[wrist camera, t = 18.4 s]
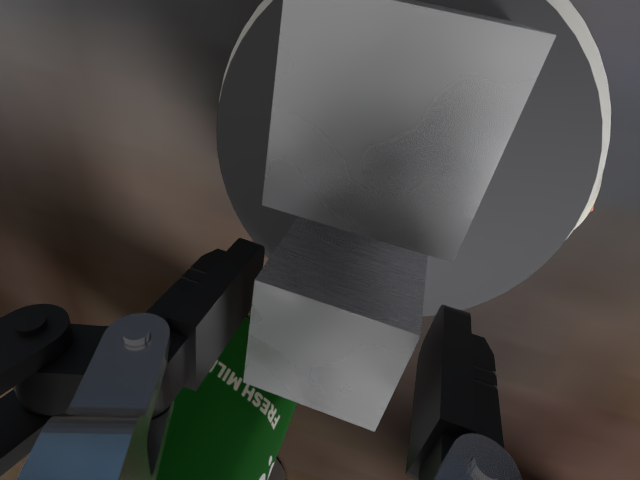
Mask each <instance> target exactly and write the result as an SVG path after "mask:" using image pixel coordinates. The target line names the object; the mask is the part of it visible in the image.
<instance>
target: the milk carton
mask: <svg viewBox="0 0 640 480" xmlns="http://www.w3.org/2000/svg"><path fill="white" fill-rule="evenodd" d="M249 326H250V319H249V318H248V317H247V316H246V317H245V318H244V320H243V321H242V323H241V324H240V326H239V327H238V329H237V330H236V332H235V333H234V335H233V336H232V338H231V339H230V341H229V342H228V344H227V345H226V347H225V349H224V350H223V352H222V353H221V355H220V356H219V358H218V359H217V361H216V362H215V364H214V365H213V367H212V368H211V370H210V371H209V373H208V374H207V376H206V377H205V379H204V380H203V382H202V383H201V385H200V386H199V388H198V389H197V391H194V390H191V389H189V388H186V387H184V386H183V388H182V389H181V390H180V392H179V393H178V395H177V396H176V398H175V399H174V407H173V411H172V416H171V420H170V424H169V428H168V432H167V437H166V441H165V445H164V449H163V453H162V458H161V462H160V466H159V470H158V474H157V479H156V480H268V478H269V475H270V473H271V470H272V468H273V465H274V462H275V460H276V457H277V455H278V452H279V450H280V447H281V445H282V442H283V440H284V437H285V434H286V432H287V429H288V426H289V423H290V421H291V418H292V415H293V413H294V410H295V407H296V404H297V402H294V401H291V400H289V399H286V398H283V397H281V396H278V395H276V394H273V393H270V392H268V391H265V390H262V389H260V388H257V387H254V386H252V385H249V384H246V383H244V382H243V380H244V371H245V362H246V353H247V344H248V335H249Z"/></svg>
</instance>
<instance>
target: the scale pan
mask: <svg viewBox="0 0 640 480" xmlns="http://www.w3.org/2000/svg"><path fill="white" fill-rule="evenodd" d="M415 1H420V2H425V3H429V4H434V5H439V6H444V7H448V8H453V9H458V10H462V11H467V12H472V13H477V14H481V15H486V16H491V17H495V18H500V19H505V20H510V21H513V22H516V23H520V24H523V25H526V26H529V27H532V28H535V29H538V30H542V31H545V32H548V33H551V34H554V35H556V38H555V40H554V42H553V44H552V46H551V49H550V51H549V53H548V55H547V57H546V60H545V62H544V64H543V66H542V68H541V71H540V73H539V75H538V77H537V79H536V82H535V84H534V86H533V88H532V90H531V92H530V95H529V97H528V99H527V101H526V103H525V106H524V108H523V110H522V112H521V114H520V117H519V119H518V121H517V123H516V125H515V128H514V130H513V132H512V134H511V136H510V139H509V141H508V143H507V145H506V147H505V150H504V152H503V154H502V156H501V158H500V161H499V163H498V165H497V167H496V169H495V172H494V174H493V176H492V178H491V180H490V183H489V185H488V187H487V189H486V191H485V194H484V196H483V198H482V200H481V202H480V205H479V207H478V209H477V211H476V213H475V216H474V218H473V220H472V222H471V224H470V227H469V229H468V231H467V233H466V235H465V238H464V240H463V242H462V244H461V246H460V249H459V251H458V253H457V255H456V257H455V260H454V262H453V263H452V262H448V261H445V260H442V259H438V258H435V257H432V256H428V261H427V272H426V282H425V293H424V304H423V315H422V316H432V315H436V314H437V312H438V310H439V308H440V306H441V305H446V306H449V307H452V308H455V309H459V310H463V309H467V308H470V307H472V306H475V305H478V304H481V303H484V302H486V301H489V300H491V299H493V298H495V297H497V296H499V295H501V294H503V293H505V292H507V291H508V290H510V289H512V288H513V287H515V286H516V285H518V284H519V283H521V282H522V281H524V280H525V279H527V278H528V277H529V276H530V275H532V274H533V273H534V272H535V271H536V270H538V269H539V268H540V267H541V266H542V265H544V264H545V263H546V262H547V261H548V260H549V258H550V257H551V256H552V255H553V254H554V253H555V252H556V251H557V250H558V249H559V248H560V247H561V245H562V244H563V243H564V241H565V240H566V238H567V237H568V236H569V234H570V233H571V231H572V230H573V229H574V227H575V226H576V224H577V222H578V220H579V218H580V216H581V214H582V213H583V211H584V209H585V207H586V205H587V203H588V200H589V197H590V195H591V192H592V189H593V186H594V183H595V180H596V177H597V172H598V167H599V162H600V156H601V151H602V122H603V121H602V114H601V106H600V99H599V92H598V89H597V85H596V82H595V79H594V76H593V72H592V69H591V66H590V63H589V61H588V59H587V57H586V55H585V53H584V51H583V49H582V47H581V45H580V43H579V41H578V39H577V37H576V35H575V34H574V33H573V31H572V30H571V29H570V27H569V26H568V25H567V23H566V22H565V21H564V19H563V18H562V17H561V15H560V14H559V13H558V11H557V10H556V9H555V8H554V7H553V6H552V5H551V4H550V3H549V2H548V1H547V0H415ZM282 7H283V0H273V1H272V2H271V3H270V4H269V5H268V6H267V7H266V8H265V10H264V11H263V12H262V13H261V14H260V15H259V16H258V17H257V18H256V20H255V21H254V23H253V24H252V25H251V27H250V28H249V30H248V31H247V33H246V34H245V36H244V37H243V39H242V40H241V42H240V44H239V46H238V48H237V50H236V52H235V54H234V56H233V58H232V60H231V62H230V65H229V68H228V71H227V74H226V77H225V80H224V82H223V86H222V91H221V96H220V101H219V106H218V116H217V129H216V130H217V151H218V157H219V163H220V169H221V173H222V177H223V180H224V184H225V187H226V191H227V193H228V196H229V198H230V201H231V203H232V205H233V208H234V210H235V212H236V214H237V216H238V217H239V219H240V221H241V223H242V225H243V226H244V228H245V229H246V231H247V232H248V234H249V235H250V237H251V238H252V239H253V241H254V242H255V243H257V244H260V245H263V246H264V248H265V253H264V254H265V255H266V256H267V257H268V258H270V257H271V255H272V254H273V253H274V251H275V250H276V248H277V247H278V245H279V244H280V242H281V241H282V240H283V238H284V237H285V235H286V234H287V232H288V231H289V229H290V228H291V227H292V225H293V224H294V222H295V221H296V219H297V218H298V216H296V215H293V214H289V213H286V212H283V211H279V210H276V209H273V208H269V207H266V206H263V205H262V199H263V189H264V180H265V170H266V160H267V151H268V141H269V132H270V122H271V112H272V103H273V93H274V84H275V74H276V64H277V55H278V45H279V36H280V26H281V16H282Z"/></svg>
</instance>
